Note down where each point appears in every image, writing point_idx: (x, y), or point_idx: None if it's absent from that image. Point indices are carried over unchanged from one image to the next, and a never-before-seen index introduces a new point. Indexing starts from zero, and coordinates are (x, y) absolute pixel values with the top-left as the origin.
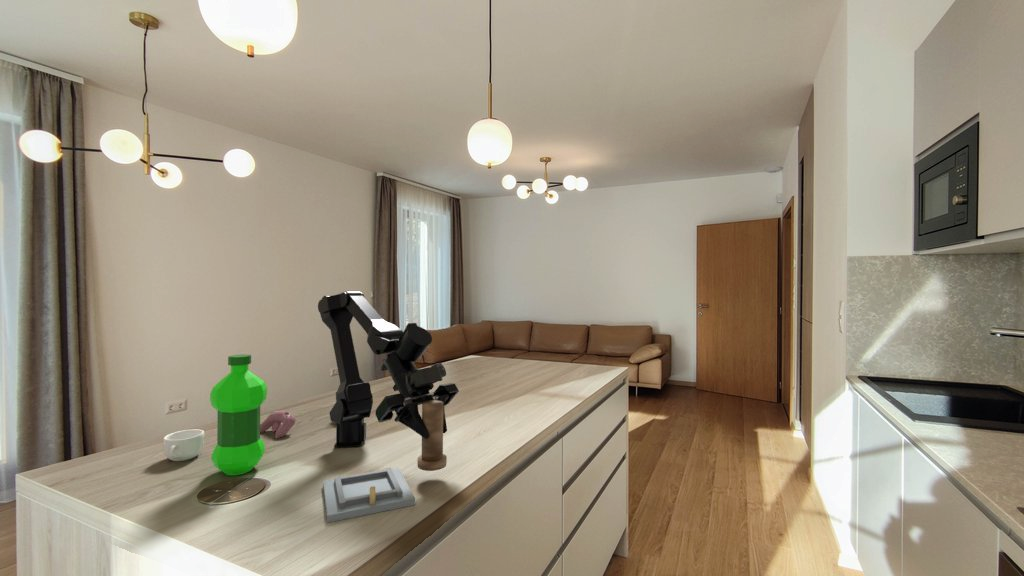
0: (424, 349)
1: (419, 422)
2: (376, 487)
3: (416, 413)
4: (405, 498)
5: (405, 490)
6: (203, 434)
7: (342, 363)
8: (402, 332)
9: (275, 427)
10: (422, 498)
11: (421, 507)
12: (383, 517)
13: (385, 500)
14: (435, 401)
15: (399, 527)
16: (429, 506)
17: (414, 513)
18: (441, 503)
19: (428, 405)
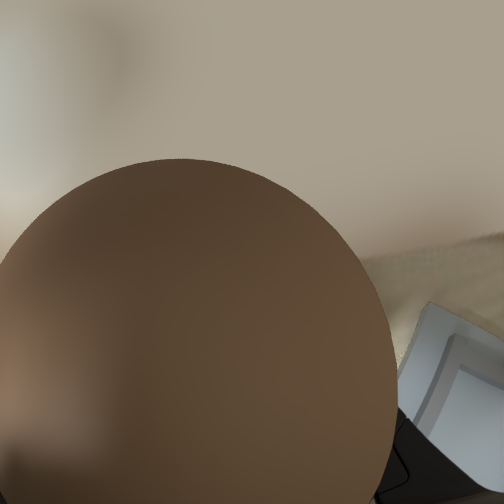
0: None
1: (402, 412)
2: (455, 450)
3: (422, 494)
4: (448, 322)
5: (420, 366)
6: None
7: None
8: None
9: None
10: (388, 322)
11: (419, 284)
12: (498, 315)
13: (485, 354)
14: (5, 395)
15: (490, 254)
16: (402, 271)
17: (446, 274)
18: (371, 259)
19: (358, 299)
